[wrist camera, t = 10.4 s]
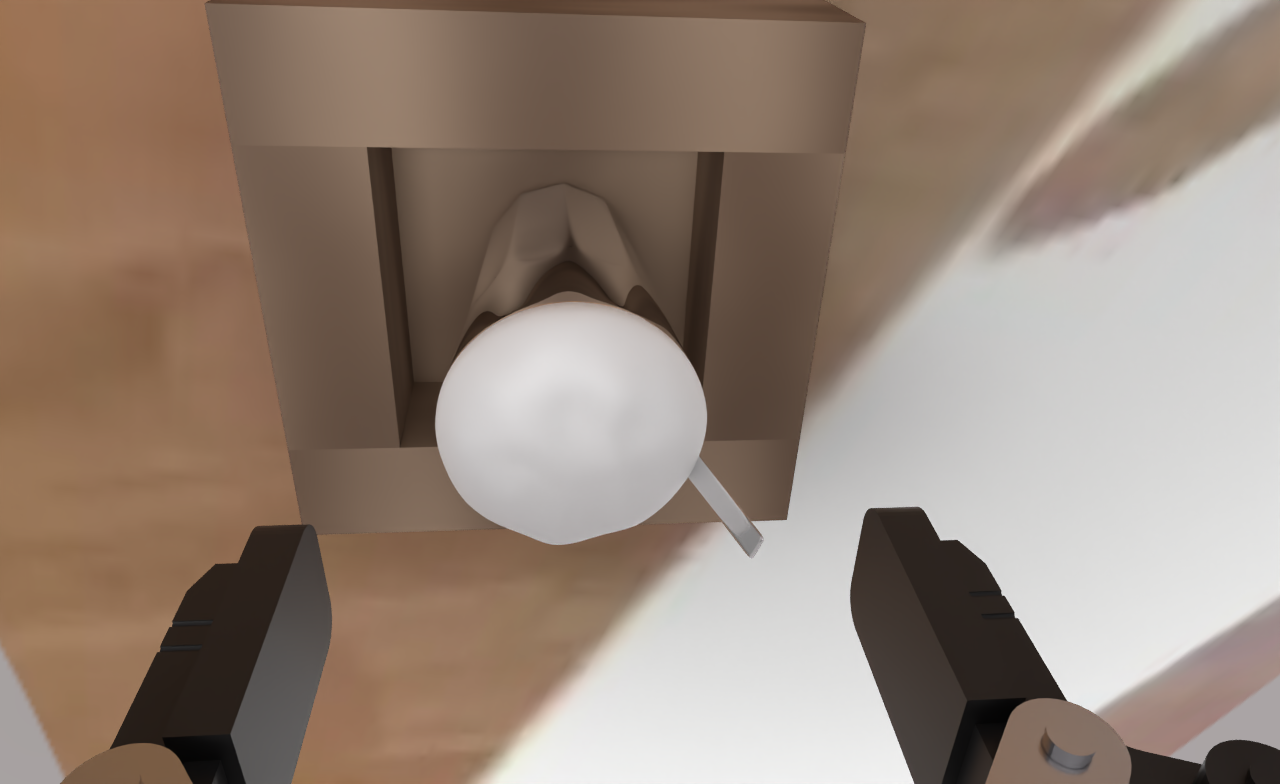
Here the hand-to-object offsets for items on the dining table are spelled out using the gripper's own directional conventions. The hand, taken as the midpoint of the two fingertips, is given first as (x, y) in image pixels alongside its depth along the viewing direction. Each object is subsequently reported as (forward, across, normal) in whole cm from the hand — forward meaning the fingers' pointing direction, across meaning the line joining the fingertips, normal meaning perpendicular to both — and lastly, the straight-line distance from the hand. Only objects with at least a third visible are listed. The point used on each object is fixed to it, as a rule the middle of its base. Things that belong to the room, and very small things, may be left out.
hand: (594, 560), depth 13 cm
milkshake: (+11, 0, 0) cm, 11 cm away
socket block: (+12, +1, 0) cm, 12 cm away
